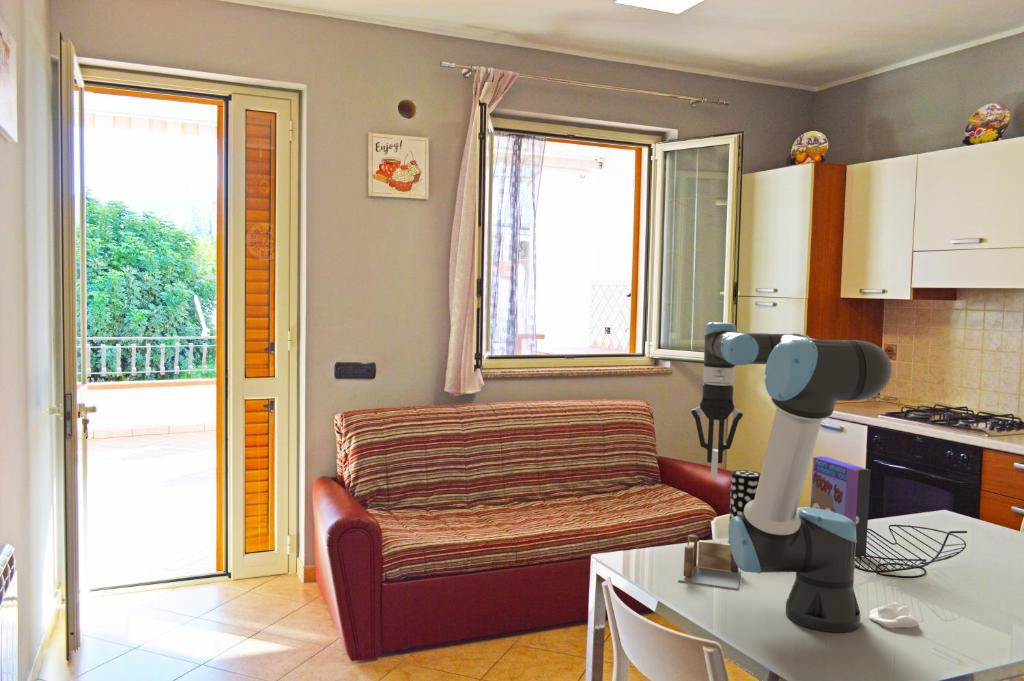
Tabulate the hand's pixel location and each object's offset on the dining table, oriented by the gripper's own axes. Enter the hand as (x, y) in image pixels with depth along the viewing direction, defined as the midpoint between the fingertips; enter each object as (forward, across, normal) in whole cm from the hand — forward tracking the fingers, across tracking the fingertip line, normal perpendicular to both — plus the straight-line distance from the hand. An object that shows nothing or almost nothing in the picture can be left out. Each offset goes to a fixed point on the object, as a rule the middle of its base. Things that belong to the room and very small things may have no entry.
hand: (714, 475), depth 202 cm
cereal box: (+24, +35, +27) cm, 50 cm away
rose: (+24, +38, -24) cm, 51 cm away
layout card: (+24, 0, -7) cm, 25 cm away
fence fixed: (+24, +1, -3) cm, 24 cm away
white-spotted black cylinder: (+24, +9, +22) cm, 34 cm away
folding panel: (+23, -5, -8) cm, 25 cm away
